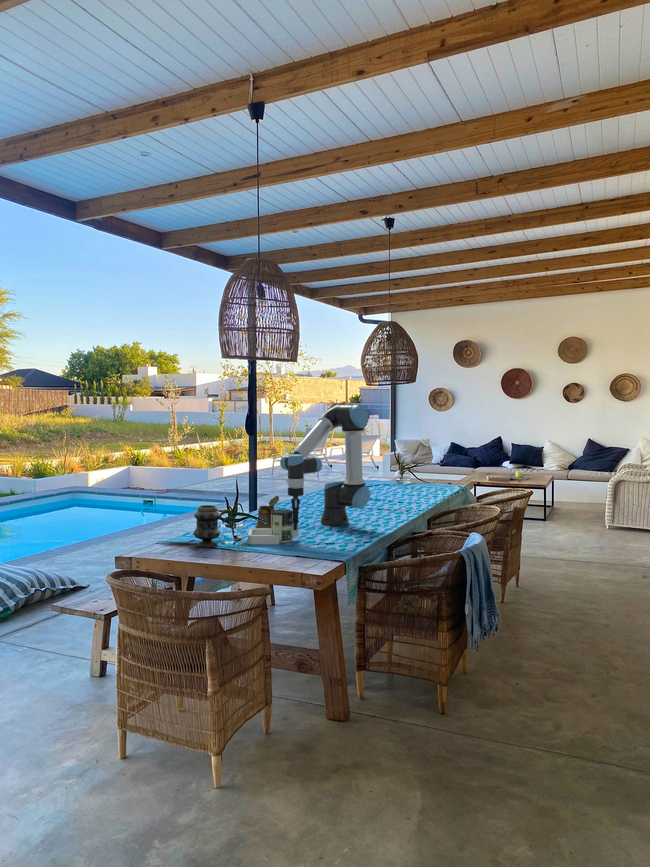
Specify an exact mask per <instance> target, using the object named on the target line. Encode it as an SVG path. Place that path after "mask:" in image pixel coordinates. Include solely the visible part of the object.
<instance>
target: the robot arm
mask: <svg viewBox="0 0 650 867" xmlns="http://www.w3.org/2000/svg"><path fill="white" fill-rule="evenodd" d="M369 418H370V417H369V412H368V410H367V408H365V407H364V406H363V405H358V404H337V405H334V406H332V407H330V408H329V409H327V410H326V411H325V412H324V413H323V414H321V415H320V417H319V418H318V419H317V421H318V422H317V423H316V424H315V426H313V427H312V429H310V431H309V432H308V433H307V434H306V436H305V437H304V438H303V439H302V440H301V441H300V442H299V443H298V445H297V446H296V447H295V448H294V449H293V450H292V452H290V454H285V455H283V456H281V458H280V461H279V465H280V467H281V469H282V470H284V471H287V480H286V483H287V496H288V497H292V498H291V499H290V500H291V502H290V503H291V509H292V511H293V513H292V522H291V523H292V538H293V537H294V538H295V537H299V522H300V520H299V509H300V503H301V499H300V498H299V497H302V496H304V490H305V489H304V483H305V482H304V480H305V478H304V477H305V474H312V473H313V474H316V473H319V472H320V471H321V470H322V468H323V462H322V459H321V458H320V457H318V456H317V457H315V456H312V457H309V455H310V454H311V453H312V452H313V451H314V450H315V449H316V447H317V446H318V445H319V444H320V443H321V442H322V440H323V439H324V438H325V437H326V436H327V435H328V434H329V433H330V432H332V431H333V430H334V429H336V428H339V427H341V431H342V433H343V434H344V444H345V446H344V447H345V449H344V450H345V480H335V481H333V480H332V481H327V482H325V484H324V488H323V489H324V490H323V491H324V492H323V494H324V495H323V498H324V499H323V500H324V501H323V502H324V503H323V512H322V514H321V517H320V523H321V525H324V526H331V527H334V526H337V527H339V526H346V525H348V524H349V516H348V512H347V510H346V508H347V507H349V508H350V507H351V508H354V509H361V508H364V507H366V506H367V504H368V503H369V501H370V499H371V491H370V488H369V487H367V486H366V481H365V479H363V451H362V450H363V449H362V448H363V444H362V442H363V441H362V434H363V433H364V431H365V428H366V427H367V426H368V424H369V420H370V419H369Z"/></svg>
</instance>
